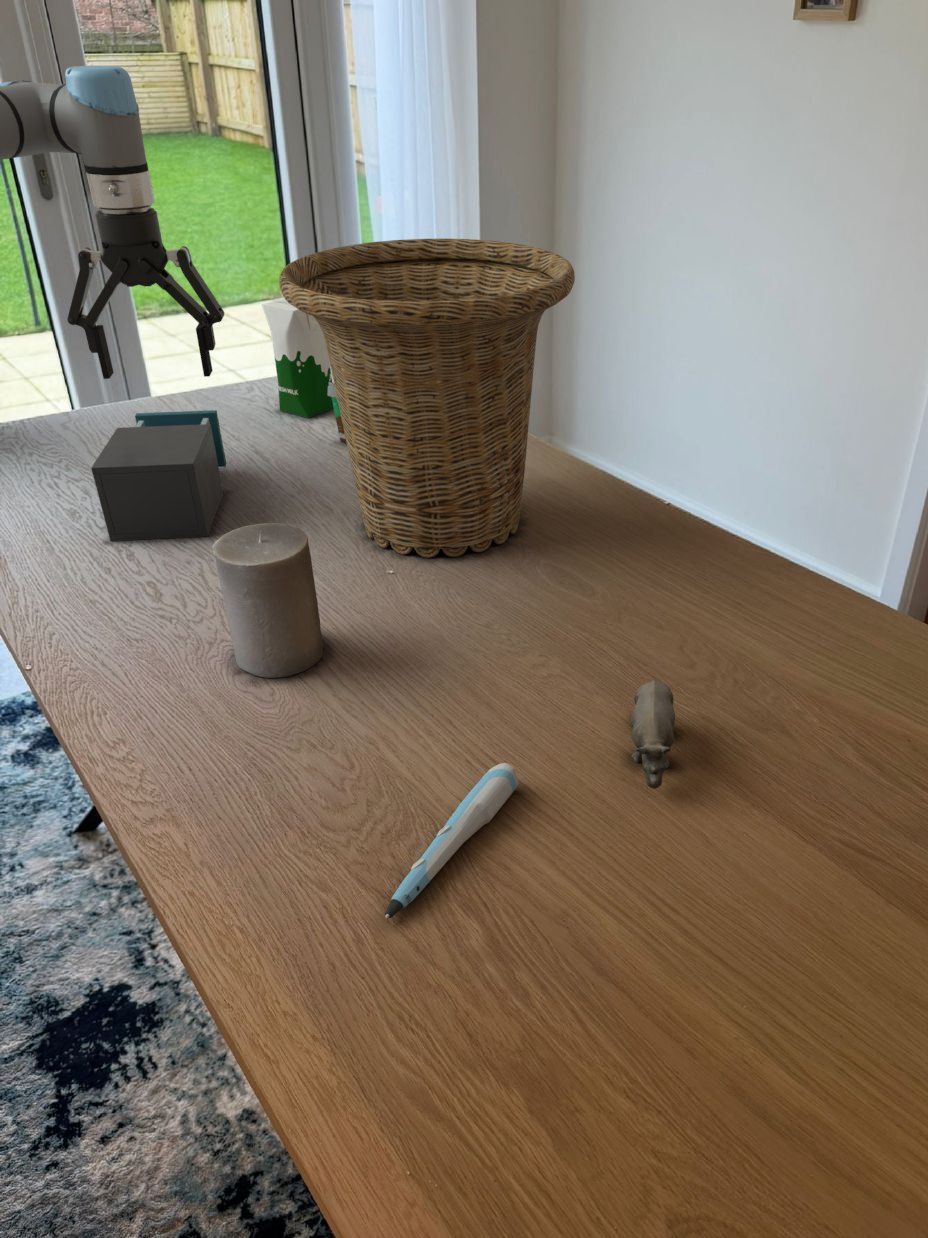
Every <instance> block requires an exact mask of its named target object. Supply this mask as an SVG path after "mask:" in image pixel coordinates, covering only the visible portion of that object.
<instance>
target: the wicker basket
mask: <svg viewBox="0 0 928 1238" xmlns="http://www.w3.org/2000/svg"><path fill="white" fill-rule="evenodd" d="M575 278H576V277H575V269H574V267H573V265H572V264H571V262H570V261H569V260H568V259H566V257H564V256H561V254H558V253H555V252H552V251H550V250H546V249H543V248H539V247H536V246H535V247H534V246H530V245H526V244H520V243H513V242H506V241H498V240H489V239H488V240H486V239H471V238H411V239H395V240H394V239H392V240H381V241H372V242H371V241H370V242H363V243H357V244H349V245H345V246H344V245H343V246H338V247H334V248H329V249H325V250H321V251H317V252H314V253H311V254H308V255H305V256H302V257H299V258H298V259H295V260H293V261H291V262H289V263H288V264H287V265H286V266H284V267H283V269H282V270H281V272H280V274H279V277H278V284H279V285H278V286H279V291H280V292H281V294H282V297H283V298H285V300H286V301H287V302H288V303H289V304H291V305H293V306H294V307H296V308H297V309H299V310H300V311H302V312H304V313H306V314H309V315H311V316H313V317H314V318H315V319H316V321H317V322H318V324H319V326H320V328H321V330H322V332H323V335H324V338H325V342H326V347H327V352H328V356H329V361H330V369H331V376H332V381H333V383H334V385H335V390H336V394H337V399H338V404H339V409H340V414H341V418H342V423H343V428H344V433H345V437H346V442H347V444H346V446H347V452H348V456H349V460H350V467H351V471H352V475H353V480H354V485H355V490H356V493H357V499H358V503H359V508H360V512H361V517H362V520H363V524H364V529H365V532H366V534H367V536H368V538H369V539H374V541H375V542H376V544H377V545H378V546H379V547H381V548H383V549H385V548H388V547H389V546H391V548H392V549H393V551H395V552H396V553H397V554H400V555H409V554H410V553H411V552H412V551H413V548H414V551H415V552H416V553H417V554H418V555H419V556H420V557H422V558H426V559H430V558H434V557H436V556H437V555H438V554H439V552H440V550H442V552H443V554H445V555H447V557H450V558H458V557H461V556H462V555H464V554H465V553H466V551H467V550H468V547H469V548H470V550H472V552H475V553H482V552H484V551H486V550H488V549H489V548H490V546H491V544H492V542H493V543H494V544H496V545H502V544H504V543H505V542H506V541H507V539H508V537H509V535H515V534H516V532H517V530H518V526H519V523H520V518H521V510H522V500H523V493H524V492H523V491H524V482H525V481H524V479H525V471H526V461H527V460H526V458H527V449H528V438H529V436H528V435H529V426H530V425H529V424H530V413H531V404H532V403H531V402H532V393H533V392H532V390H533V383H534V382H533V380H534V369H535V358H536V350H537V348H536V347H537V337H538V330H539V325H540V322H541V319H542V317H543V315H544V313H545V312H546V311H547V310H548V309H550V308H552V307H554V306H556V305H557V304H558V303H561V301H562V300H564V299H565V298H566V297H568V295H570V293H571V292H572V290H573V287H574V284H575V280H576V279H575Z"/></svg>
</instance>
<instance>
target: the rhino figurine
mask: <svg viewBox="0 0 928 1238" xmlns="http://www.w3.org/2000/svg"><path fill="white" fill-rule="evenodd" d="M633 702H634V707H633V710H632V712H631V716H630V721H631V725H632V730H631V741H632V742H633V744H634V746H635V747H636V748H635V751H634V752H633V753H632V754H631V758H632V759H633V761H634V762H635V763H642V770H643V772H644V774H645V781H646V785H647V787H649V788H650V789H652V790H655V789H658V788H659V787H661V786H662V782H663V773H664V771H665V770H667V769H668V768H669V766H670V760H668V758H667V756H666V755H667V754H668V753H669V752H671V748H672V745H673V744H674V742H675V734H674V729H673V728H674V726H675V721H676V713H675V708H674V694H673V691H672V689H671V688H670V687H669V686H668V685H667V684H665V683H663V682H660V681H658V680H655V679H653V680H651V681H649V682H646V683H644V684H642V685H640V686H639V687H638V688H637V690H636V691H635V694H634V698H633Z"/></svg>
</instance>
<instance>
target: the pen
mask: <svg viewBox="0 0 928 1238" xmlns="http://www.w3.org/2000/svg"><path fill="white" fill-rule="evenodd" d="M518 785H519V778H518V775H517V772H516V771H515V768H514V767H513V765H511V764H509V763H508V762H503V763H499V764H497V765H494V766H493V767H491V768H490V769H489V770H487V772H486V773H485V774H484V775H483V776H482V777H480V780H479V781H478V782H477V783H476V784H475V785H474V787H473V788H472V789H471V790H470V791H469V793H468V794H467V795H466V796H465V797H464V798H463V800H462V801H461V802H460V803H459V805H458V806H457V807H456V809H455V810H454V811H453V813H452V815H450V817H449V819H448V820H447V822H446V823H445V824H444V826H443V827H442V828H440V830H439V831H438V832H437V834H436V837H435V838H434V840H433V841H432V842H431V843H430V845H429V846H428V847H427V849H426V850H425V852H424V853H423V854H422V856H420V858H419V859H418V860H417V861H415V862H414V863H413V864H412V866H411V868H410V871H409V872H408V874H407V875H406V876H405V878H404V879H403V880H402V881H401V882H400V884H399V885H398V887H397V889H396V891H395V892H394V894H393V895H392V897H391V899H390V901H389V904H388V906H387V907H386V910H385V912H384V915H385V917H384V919H386V920H387V919H392V918H393V917H394V916H395V915H397V914H398V913H400V912H401V911H402V910H404V909H405V908H406V907H407V906H409V904H411V902H413V901H414V900H415V899H416V898H417V896H419V895H420V893H421V892H422V891H423V890H424V889H425V888H426V886H427V885H428V884H429V883H430V882H431V881H432V879H433V878H434V877H435V876H436V875H437V874H438V873H439V872H440V870H441V869H442V868H443V867H444V866H445V865H446V863H448V861H449V860H450V859H451V858H452V856H454V854H455V853H456V852H457V851H458V850H459V849H460V848H461V846H462V845H463V844H464V843H465V842H466V841H467V840H469V839H471V837H472V836H473V835H474V834H475V833H477V832H478V831H479V830H480V829H481V828H482V827H483V826H485V825H487V824H489V823H490V822H491V821H492V819H493V818H494V817H495V815H496V814H497V813H498V812H499V811H500V809H501V808H502V807H503V805H505V803H506V801H508V799H509V798H510V797H511V796H512V794H513V793H514V792H515V790H516V789H517V787H518Z"/></svg>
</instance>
